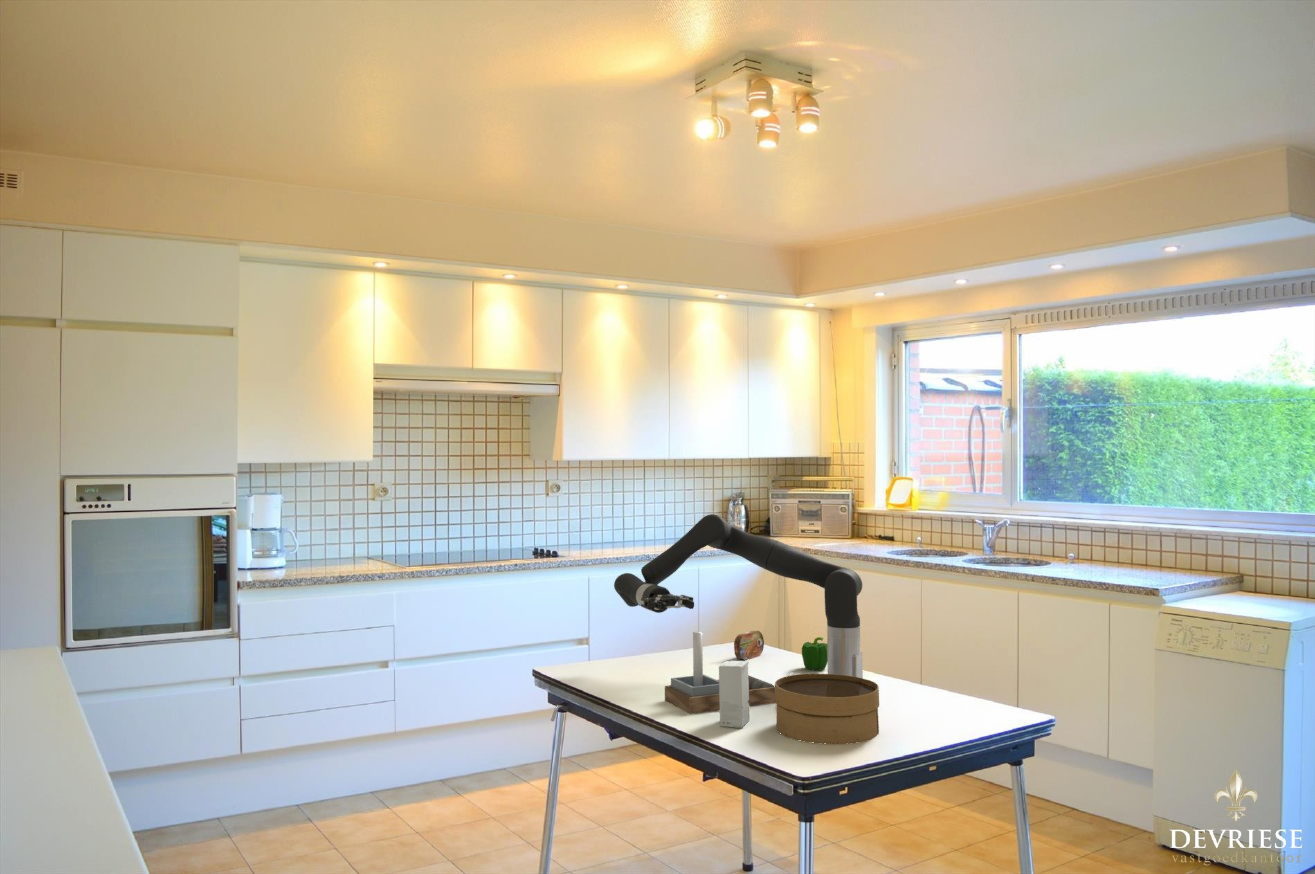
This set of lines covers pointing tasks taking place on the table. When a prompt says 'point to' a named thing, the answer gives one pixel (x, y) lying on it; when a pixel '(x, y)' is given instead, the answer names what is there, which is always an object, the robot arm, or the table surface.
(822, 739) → the steamer basket
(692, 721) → the table surface
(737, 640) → the tin
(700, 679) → the tray with upright post
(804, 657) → the bell pepper
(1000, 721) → the table surface
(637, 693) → the table surface
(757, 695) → the bay
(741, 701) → the skincare box
